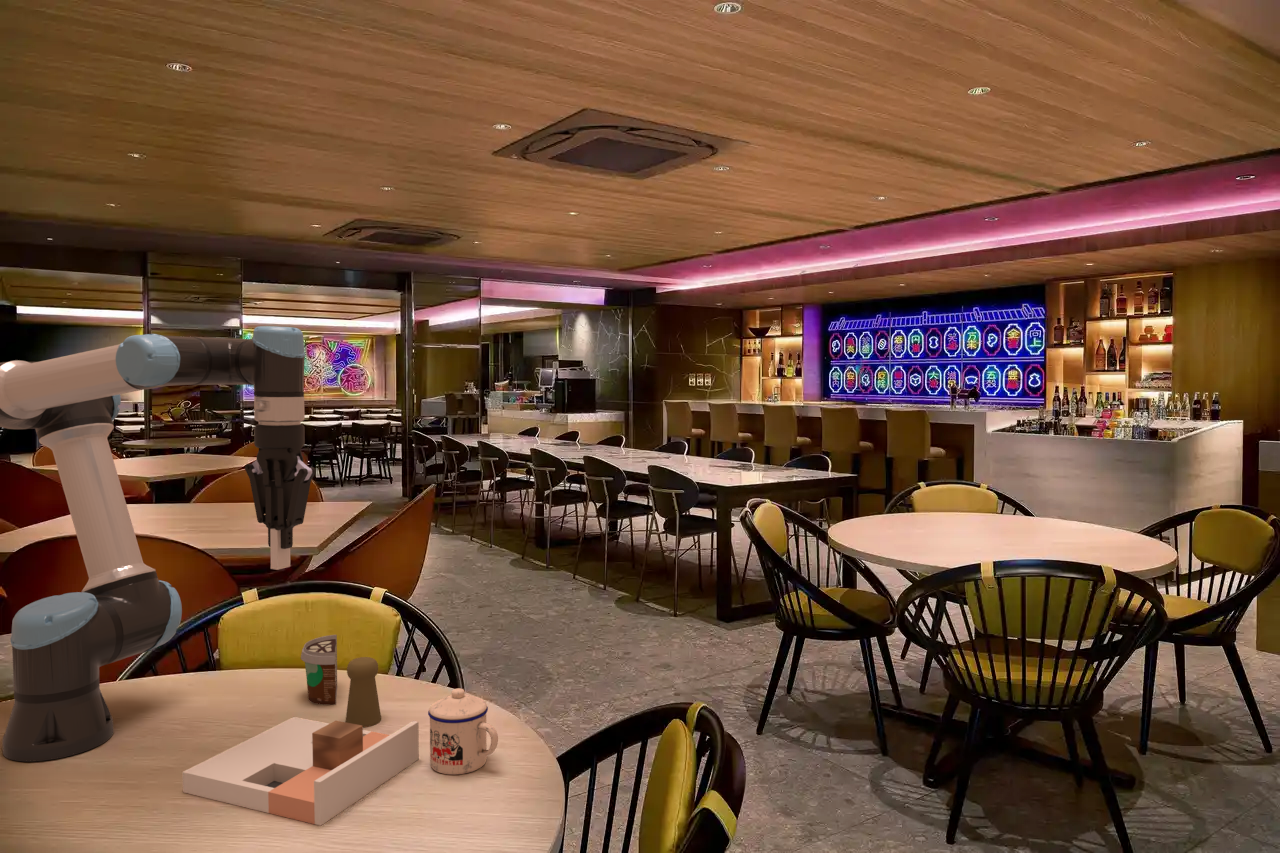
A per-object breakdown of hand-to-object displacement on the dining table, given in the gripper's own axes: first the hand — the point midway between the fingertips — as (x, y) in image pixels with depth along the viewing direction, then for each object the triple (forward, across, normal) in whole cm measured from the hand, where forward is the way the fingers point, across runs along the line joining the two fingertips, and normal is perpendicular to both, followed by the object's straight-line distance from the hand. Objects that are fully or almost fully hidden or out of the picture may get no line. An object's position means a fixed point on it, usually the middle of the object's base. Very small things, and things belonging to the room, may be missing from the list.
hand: (280, 567), depth 143 cm
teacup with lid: (+29, +33, +5) cm, 44 cm away
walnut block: (+26, +19, -8) cm, 33 cm away
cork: (+29, +7, +12) cm, 32 cm away
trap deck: (+29, +12, -8) cm, 32 cm away
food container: (+29, -9, +18) cm, 35 cm away
